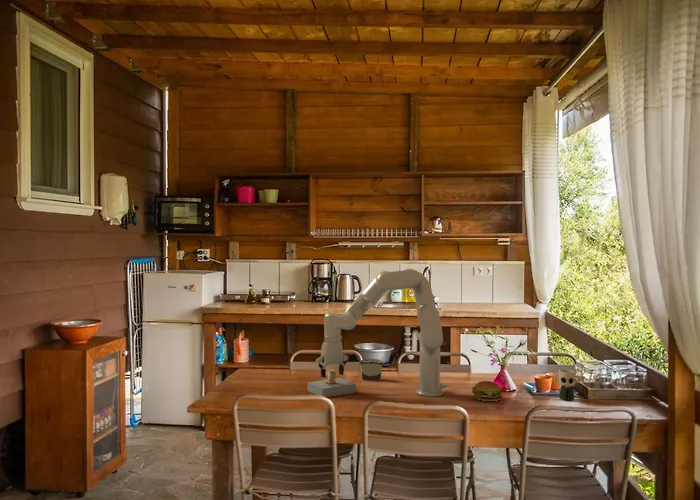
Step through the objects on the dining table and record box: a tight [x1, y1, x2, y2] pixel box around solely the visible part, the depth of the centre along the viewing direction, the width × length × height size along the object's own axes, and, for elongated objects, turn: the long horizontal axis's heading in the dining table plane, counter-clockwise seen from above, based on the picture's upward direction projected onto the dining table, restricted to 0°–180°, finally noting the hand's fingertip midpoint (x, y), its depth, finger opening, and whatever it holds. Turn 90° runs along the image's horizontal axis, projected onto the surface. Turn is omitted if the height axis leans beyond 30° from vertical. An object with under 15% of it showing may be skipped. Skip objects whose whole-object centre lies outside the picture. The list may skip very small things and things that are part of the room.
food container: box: [359, 358, 384, 382], centre depth 284 cm, size 12×6×10 cm, turn 84°
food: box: [471, 380, 505, 402], centre depth 248 cm, size 14×14×8 cm
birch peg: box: [327, 369, 337, 385], centre depth 258 cm, size 4×4×10 cm
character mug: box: [553, 368, 581, 401], centre depth 249 cm, size 11×7×13 cm, turn 72°
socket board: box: [307, 377, 357, 398], centre depth 258 cm, size 18×14×4 cm
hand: (332, 375), depth 258 cm, fingers open, 9 cm apart
